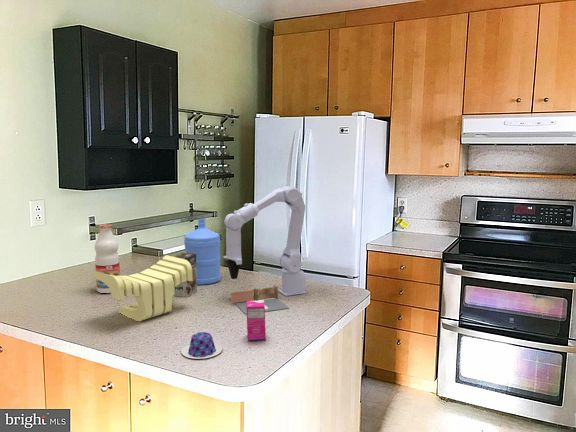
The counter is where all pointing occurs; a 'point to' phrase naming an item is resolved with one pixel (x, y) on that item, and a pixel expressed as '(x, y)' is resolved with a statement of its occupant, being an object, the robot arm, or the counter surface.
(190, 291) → the coffee box
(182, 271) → the slatted curved stool
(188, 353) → the pudding
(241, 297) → the swing panel
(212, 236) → the water jug
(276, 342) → the counter surface
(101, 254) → the fruit juice
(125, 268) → the counter surface
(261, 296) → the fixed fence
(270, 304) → the card
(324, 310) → the counter surface
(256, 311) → the supplement box
